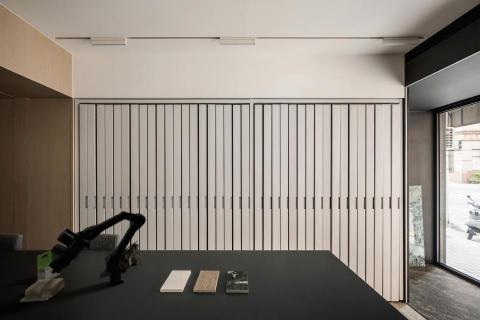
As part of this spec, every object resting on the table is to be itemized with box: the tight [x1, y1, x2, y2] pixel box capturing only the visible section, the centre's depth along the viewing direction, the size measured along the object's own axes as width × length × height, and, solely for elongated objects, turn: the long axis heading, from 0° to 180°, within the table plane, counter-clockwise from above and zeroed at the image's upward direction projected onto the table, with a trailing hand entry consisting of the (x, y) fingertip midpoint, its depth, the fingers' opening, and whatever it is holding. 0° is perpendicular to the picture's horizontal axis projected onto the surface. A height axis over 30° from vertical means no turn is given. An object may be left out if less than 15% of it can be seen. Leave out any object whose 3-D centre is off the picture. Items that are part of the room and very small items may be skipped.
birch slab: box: [24, 278, 66, 299], centre depth 145 cm, size 4×12×12 cm
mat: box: [19, 296, 51, 303], centre depth 145 cm, size 12×15×1 cm
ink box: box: [36, 250, 61, 282], centre depth 163 cm, size 10×5×14 cm, turn 168°
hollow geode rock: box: [119, 240, 143, 272], centre depth 181 cm, size 28×13×15 cm
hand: (52, 273), depth 146 cm, fingers closed
